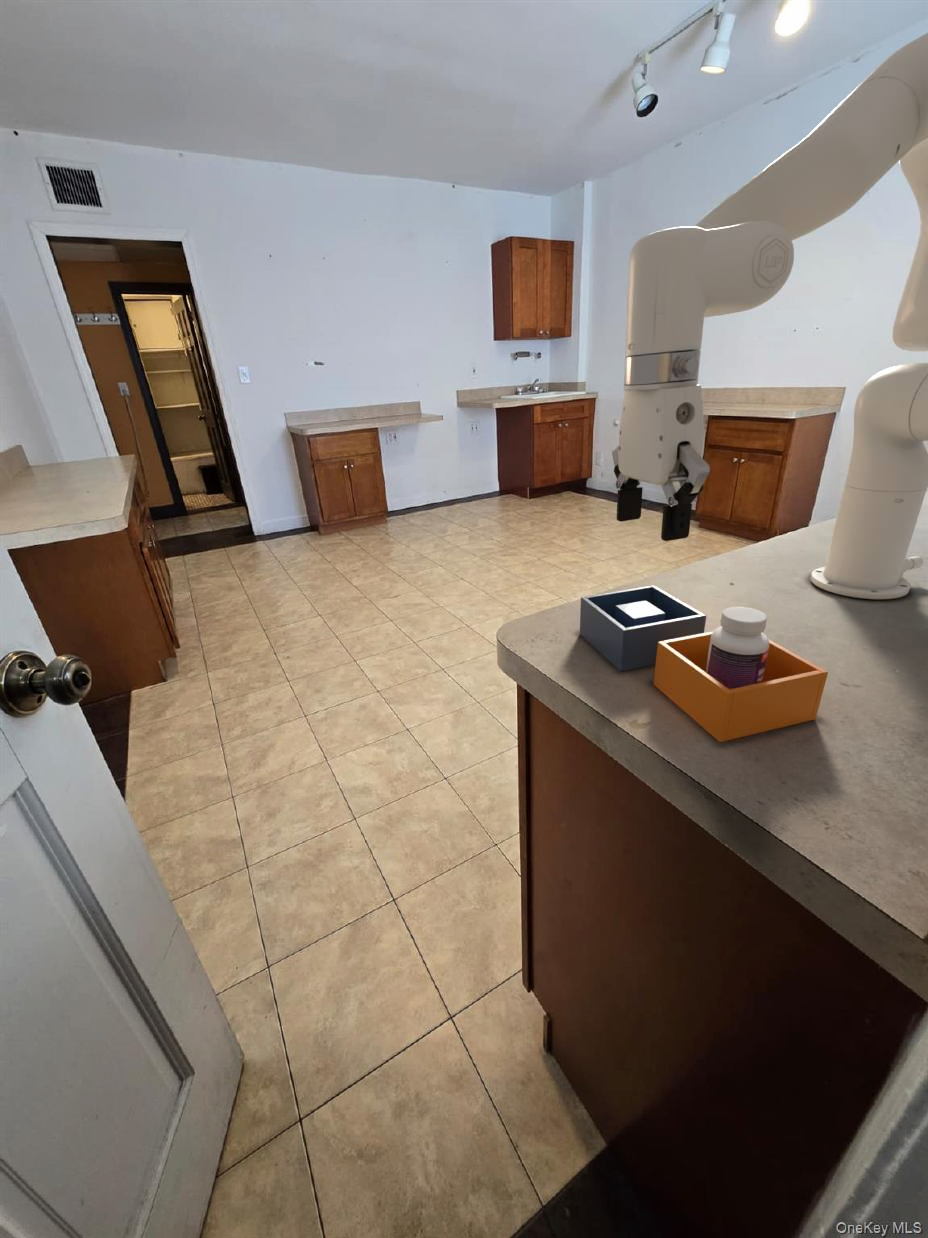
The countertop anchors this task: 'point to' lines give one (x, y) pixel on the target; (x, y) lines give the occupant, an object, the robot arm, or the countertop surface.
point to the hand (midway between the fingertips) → (650, 528)
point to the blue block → (638, 614)
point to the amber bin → (738, 689)
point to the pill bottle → (738, 648)
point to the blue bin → (639, 641)
